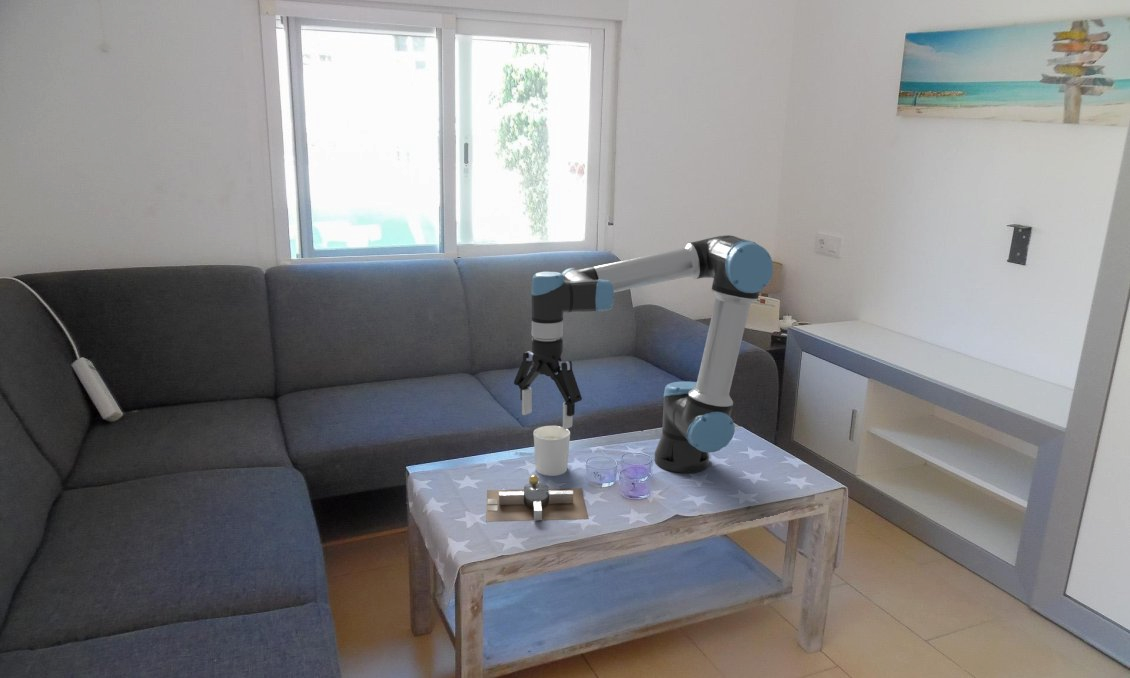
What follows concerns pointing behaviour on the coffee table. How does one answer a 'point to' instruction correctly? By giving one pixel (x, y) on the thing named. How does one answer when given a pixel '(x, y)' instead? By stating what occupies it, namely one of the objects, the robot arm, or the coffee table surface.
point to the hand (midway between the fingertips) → (546, 420)
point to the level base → (526, 514)
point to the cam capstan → (536, 496)
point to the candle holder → (551, 450)
